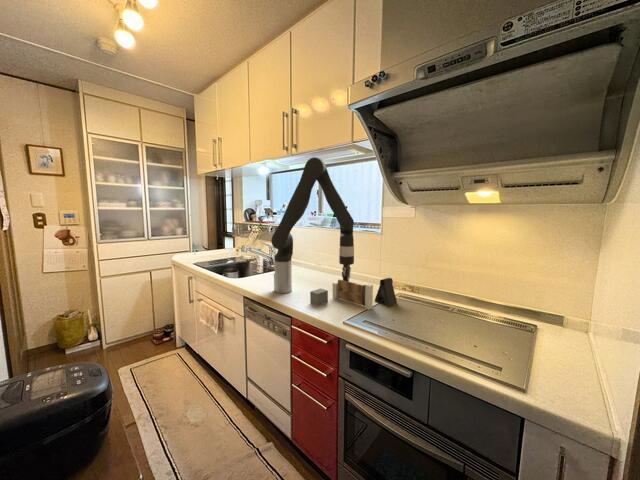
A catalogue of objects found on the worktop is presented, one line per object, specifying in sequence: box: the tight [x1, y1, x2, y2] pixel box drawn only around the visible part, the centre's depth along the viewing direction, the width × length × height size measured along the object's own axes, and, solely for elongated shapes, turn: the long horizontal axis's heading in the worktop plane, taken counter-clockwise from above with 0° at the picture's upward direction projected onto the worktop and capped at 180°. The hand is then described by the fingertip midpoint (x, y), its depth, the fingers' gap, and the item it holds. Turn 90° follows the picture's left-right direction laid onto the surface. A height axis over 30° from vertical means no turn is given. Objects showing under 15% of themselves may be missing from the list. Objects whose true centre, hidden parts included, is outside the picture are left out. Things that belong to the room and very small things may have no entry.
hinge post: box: [364, 283, 374, 310], centre depth 118 cm, size 2×3×11 cm, turn 136°
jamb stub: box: [332, 281, 339, 300], centre depth 132 cm, size 2×2×8 cm
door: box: [337, 278, 367, 307], centre depth 124 cm, size 17×2×10 cm, turn 46°
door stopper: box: [374, 277, 398, 307], centre depth 125 cm, size 9×6×12 cm, turn 37°
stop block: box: [309, 287, 329, 307], centre depth 125 cm, size 5×7×6 cm
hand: (346, 287), depth 134 cm, fingers closed
